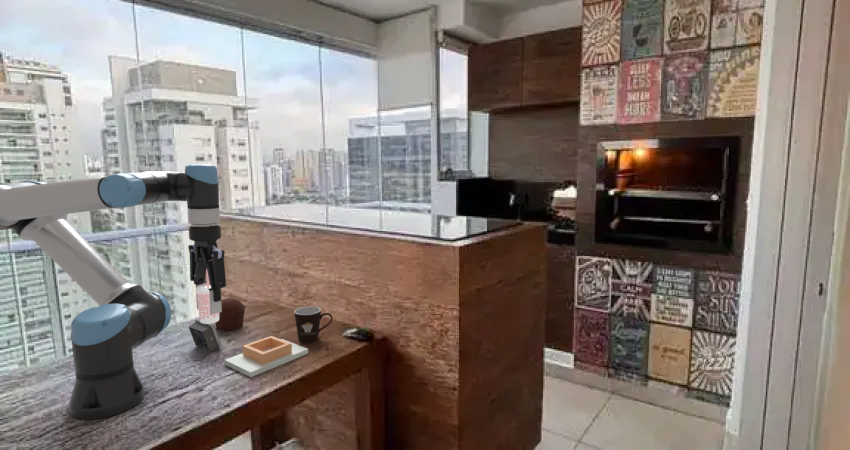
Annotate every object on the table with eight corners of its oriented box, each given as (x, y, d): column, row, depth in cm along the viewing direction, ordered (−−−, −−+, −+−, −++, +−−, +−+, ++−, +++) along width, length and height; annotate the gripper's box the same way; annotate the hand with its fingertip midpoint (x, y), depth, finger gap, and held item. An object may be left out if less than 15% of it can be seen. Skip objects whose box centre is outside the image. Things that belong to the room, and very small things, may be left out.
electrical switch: (223, 348, 147) (218, 321, 145) (207, 356, 143) (203, 328, 141) (205, 342, 152) (201, 316, 150) (190, 349, 148) (186, 322, 146)
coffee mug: (290, 343, 152) (289, 313, 150) (303, 333, 160) (302, 305, 159) (322, 346, 149) (322, 316, 148) (334, 336, 157) (333, 308, 156)
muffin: (217, 321, 171) (215, 295, 169) (248, 320, 173) (247, 294, 171) (208, 333, 159) (206, 305, 158) (242, 331, 161) (241, 304, 160)
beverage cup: (222, 315, 128) (220, 266, 126) (221, 323, 122) (219, 271, 120) (198, 318, 125) (195, 267, 123) (196, 325, 120) (193, 273, 118)
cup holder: (250, 377, 128) (250, 361, 127) (224, 364, 135) (224, 350, 135) (308, 353, 144) (307, 339, 143) (282, 343, 151) (281, 330, 151)
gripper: (238, 226, 117) (242, 314, 121) (199, 219, 129) (204, 300, 132) (210, 229, 111) (215, 321, 115) (171, 222, 123) (177, 306, 126)
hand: (209, 310), depth 123 cm, fingers closed on beverage cup, 6 cm apart
